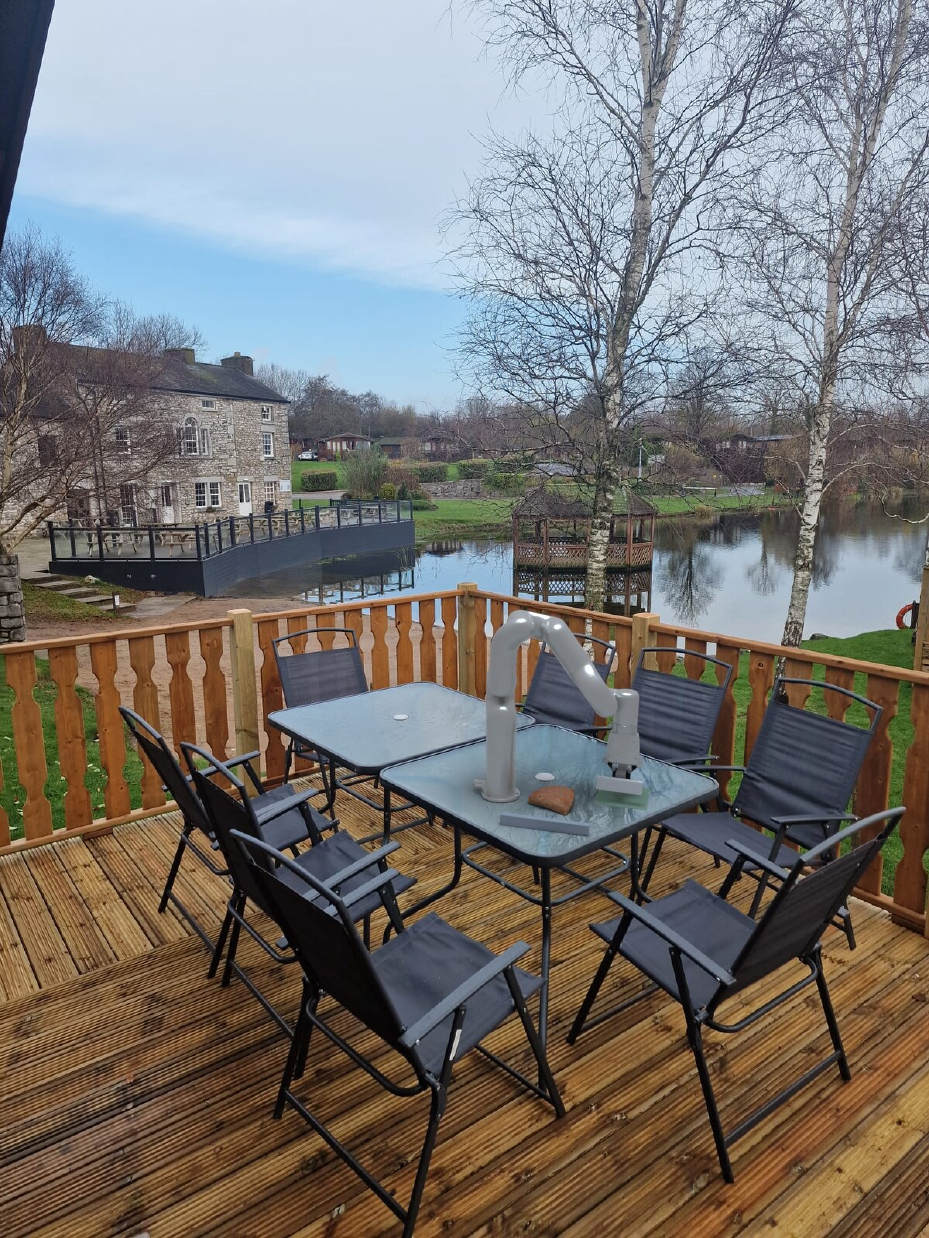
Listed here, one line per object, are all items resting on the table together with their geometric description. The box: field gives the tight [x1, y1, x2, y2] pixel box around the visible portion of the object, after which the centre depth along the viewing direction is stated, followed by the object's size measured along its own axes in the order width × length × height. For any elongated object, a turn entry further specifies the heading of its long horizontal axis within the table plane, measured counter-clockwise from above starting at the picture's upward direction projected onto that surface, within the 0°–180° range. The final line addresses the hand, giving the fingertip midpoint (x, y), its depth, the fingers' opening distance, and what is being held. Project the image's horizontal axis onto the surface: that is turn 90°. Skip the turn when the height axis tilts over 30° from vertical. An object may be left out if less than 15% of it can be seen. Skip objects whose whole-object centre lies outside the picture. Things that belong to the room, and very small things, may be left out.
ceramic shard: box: [527, 785, 575, 816], centre depth 239 cm, size 15×6×15 cm
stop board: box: [499, 811, 590, 836], centre depth 221 cm, size 26×2×3 cm, turn 74°
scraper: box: [595, 764, 644, 795], centre depth 243 cm, size 14×14×5 cm
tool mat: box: [593, 786, 650, 811], centre depth 244 cm, size 16×18×1 cm
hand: (621, 782), depth 244 cm, fingers closed on scraper, 3 cm apart
